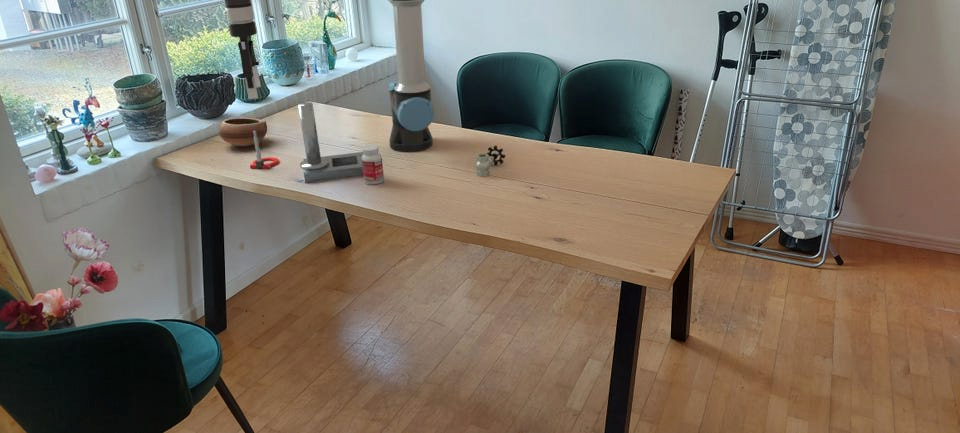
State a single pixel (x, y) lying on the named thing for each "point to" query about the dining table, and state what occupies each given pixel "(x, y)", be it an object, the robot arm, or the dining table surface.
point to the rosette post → (327, 165)
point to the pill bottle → (372, 165)
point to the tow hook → (260, 161)
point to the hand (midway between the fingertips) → (254, 92)
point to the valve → (488, 161)
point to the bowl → (242, 131)
